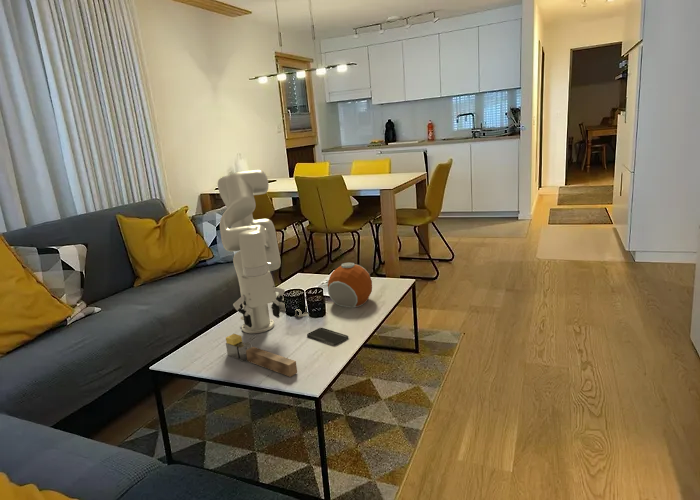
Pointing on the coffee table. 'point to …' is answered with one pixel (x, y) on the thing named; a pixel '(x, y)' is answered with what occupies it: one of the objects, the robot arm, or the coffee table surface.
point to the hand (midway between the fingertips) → (262, 321)
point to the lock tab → (233, 339)
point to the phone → (327, 336)
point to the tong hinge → (238, 350)
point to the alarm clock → (349, 285)
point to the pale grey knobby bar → (282, 308)
